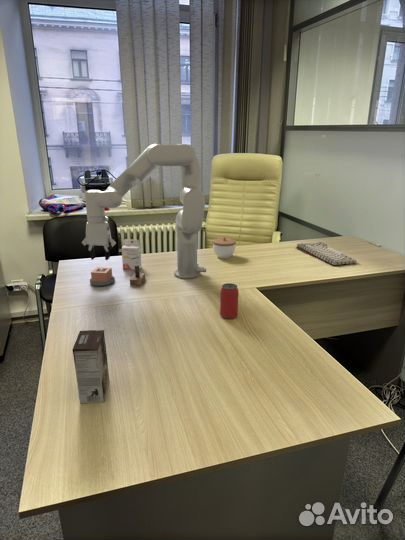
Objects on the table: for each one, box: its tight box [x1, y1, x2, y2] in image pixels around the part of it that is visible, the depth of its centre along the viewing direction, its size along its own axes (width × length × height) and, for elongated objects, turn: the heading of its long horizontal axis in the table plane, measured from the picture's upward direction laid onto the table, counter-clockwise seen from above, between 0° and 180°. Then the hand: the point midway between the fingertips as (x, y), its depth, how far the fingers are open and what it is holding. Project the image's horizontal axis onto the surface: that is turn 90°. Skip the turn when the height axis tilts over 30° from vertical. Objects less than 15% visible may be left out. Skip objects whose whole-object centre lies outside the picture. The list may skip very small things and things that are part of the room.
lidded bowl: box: [212, 236, 237, 259], centre depth 204 cm, size 13×13×11 cm
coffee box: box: [72, 329, 110, 404], centre depth 95 cm, size 9×6×16 cm
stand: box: [129, 265, 146, 287], centre depth 168 cm, size 5×9×8 cm, turn 173°
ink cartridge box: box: [121, 238, 142, 271], centre depth 185 cm, size 9×5×15 cm, turn 84°
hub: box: [89, 268, 116, 288], centre depth 169 cm, size 11×11×7 cm
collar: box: [90, 266, 113, 282], centre depth 168 cm, size 7×7×4 cm
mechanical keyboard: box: [294, 241, 358, 268], centre depth 209 cm, size 38×19×3 cm, turn 19°
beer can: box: [219, 282, 239, 320], centre depth 137 cm, size 7×7×12 cm
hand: (100, 258), depth 166 cm, fingers open, 5 cm apart
